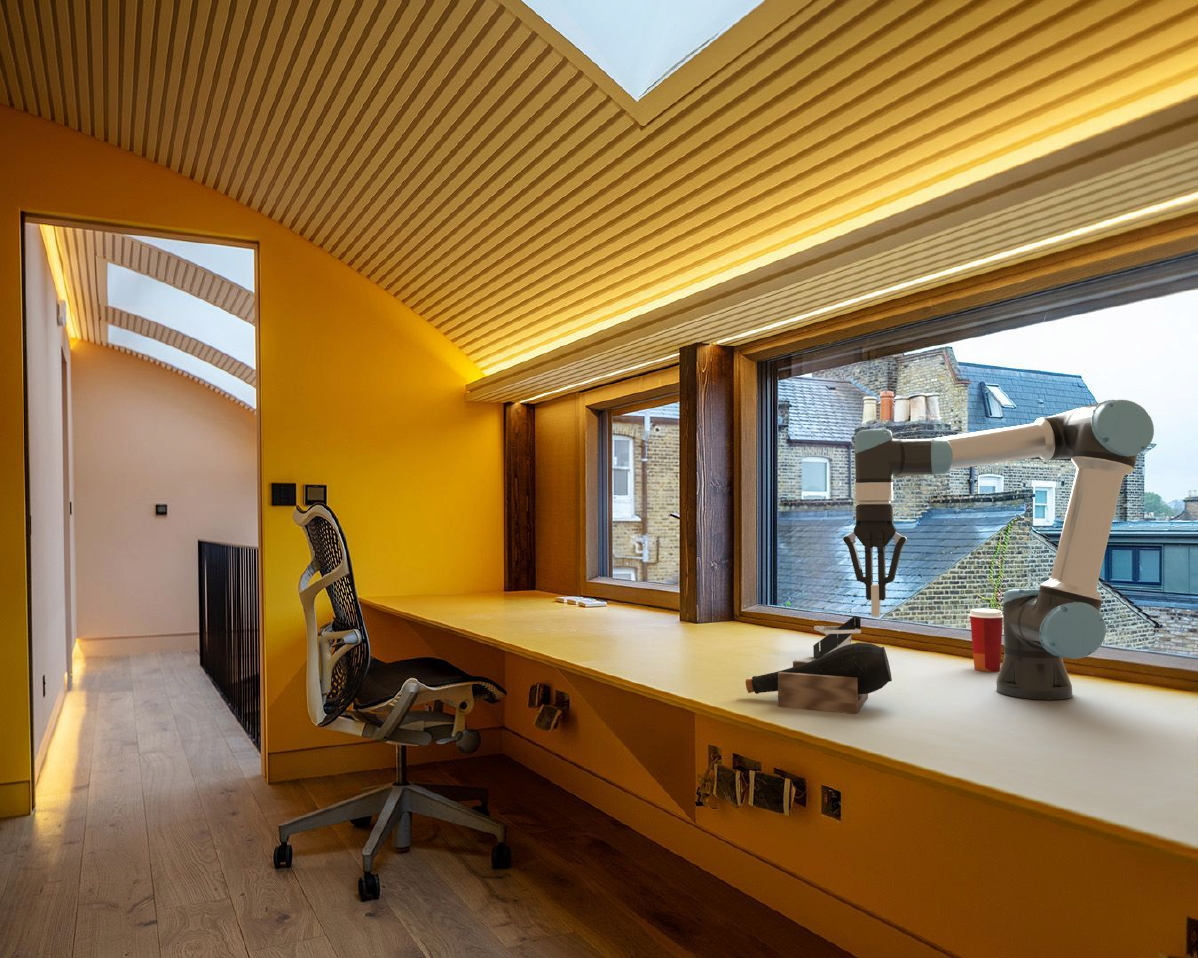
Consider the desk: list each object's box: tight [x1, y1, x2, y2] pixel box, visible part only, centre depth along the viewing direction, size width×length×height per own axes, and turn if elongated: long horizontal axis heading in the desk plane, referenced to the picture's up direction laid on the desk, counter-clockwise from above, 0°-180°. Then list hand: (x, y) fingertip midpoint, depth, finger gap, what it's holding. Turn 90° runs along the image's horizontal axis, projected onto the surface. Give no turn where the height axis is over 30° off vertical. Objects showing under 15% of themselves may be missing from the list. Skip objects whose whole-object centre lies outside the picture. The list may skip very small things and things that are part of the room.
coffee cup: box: [967, 608, 1004, 673], centre depth 224 cm, size 8×8×15 cm
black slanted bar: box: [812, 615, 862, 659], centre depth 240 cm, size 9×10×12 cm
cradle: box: [777, 660, 869, 715], centre depth 189 cm, size 16×16×7 cm
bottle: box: [745, 642, 893, 695], centre depth 188 cm, size 11×11×30 cm
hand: (876, 615), depth 185 cm, fingers closed
